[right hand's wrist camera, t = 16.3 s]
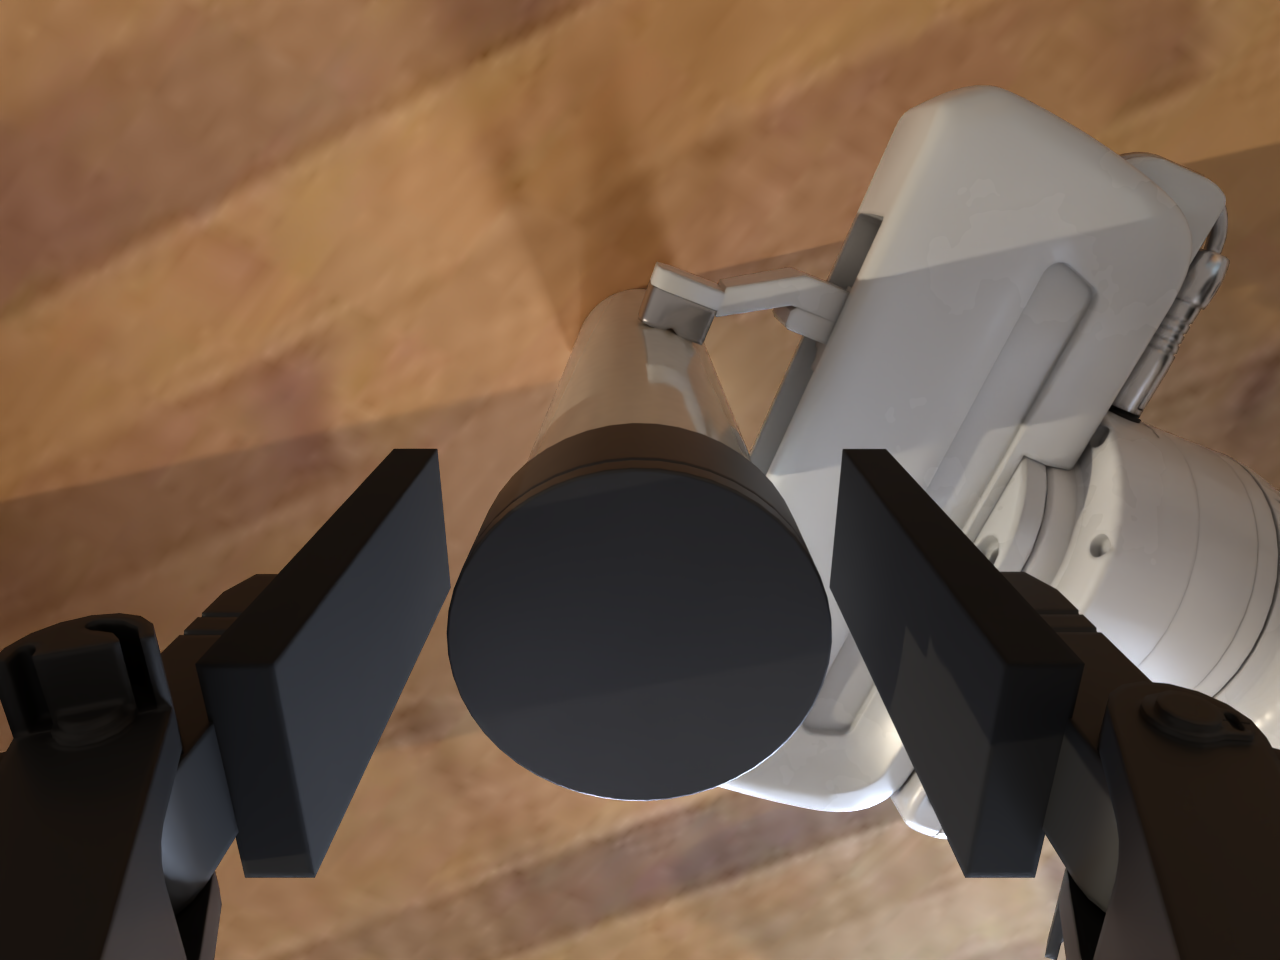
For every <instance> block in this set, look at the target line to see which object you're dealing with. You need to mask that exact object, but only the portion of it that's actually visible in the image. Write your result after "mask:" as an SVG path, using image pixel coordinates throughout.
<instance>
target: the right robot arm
mask: <svg viewBox="0 0 1280 960" xmlns="http://www.w3.org/2000/svg"><path fill="white" fill-rule="evenodd" d="M450 588H451V586H450V576H449V565H448V555H447V544H446V534H445V523H444V513H443V503H442V492H441V482H440V471H439V461H438V450H437V449H393V450H392V452H391V453H390V454H389V455H388V456H387V457H386V458H385V459H384V460H383V461H382V462H381V463H380V464H379V466H378V467H377V468H376V469H375V470H374V471H373V472H372V473H371V474H370V475H369V476H368V477H367V479H366V480H365V481H364V482H363V483H362V484H361V485H360V486H359V487H358V488H357V489H356V490H355V492H354V493H353V494H352V495H351V496H350V497H349V498H348V499H347V500H346V501H345V502H344V503H343V504H342V506H341V507H340V508H339V509H338V510H337V511H336V512H335V513H334V514H333V515H332V516H331V517H330V519H329V520H328V521H327V522H326V523H325V524H324V525H323V526H322V527H321V528H320V529H319V530H318V531H317V533H316V534H315V535H314V536H313V537H312V538H311V539H310V540H309V541H308V542H307V543H306V544H305V546H304V547H303V548H302V549H301V550H300V551H299V552H298V553H297V554H296V555H295V556H294V557H293V559H292V560H291V561H290V562H289V563H288V564H287V565H286V566H285V567H284V568H283V569H282V570H281V571H280V573H279V574H256V575H254V576H252V577H250V578H248V579H247V580H245V581H243V582H241V583H239V584H237V585H236V586H234V587H232V588H230V589H228V590H226V591H225V592H223V593H222V594H221V595H220V596H219V597H218V598H217V599H216V600H215V601H214V602H213V603H212V604H211V605H210V606H209V607H208V608H207V609H206V610H205V611H204V612H203V613H202V617H197V618H196V619H195V620H194V621H193V622H192V623H191V624H190V625H189V626H188V627H187V628H186V629H185V630H184V635H179V636H178V637H177V638H176V639H175V640H174V641H173V642H172V643H171V644H170V645H169V646H168V647H167V648H166V649H165V650H164V651H163V652H162V653H161V654H160V650H159V646H158V642H157V638H156V634H155V630H154V626H153V624H152V623H151V622H149V621H148V620H146V619H144V618H143V617H141V616H136V615H129V614H122V613H116V614H103V615H91V616H87V617H82V618H78V619H73V620H69V621H65V622H60V623H58V624H55V625H52V626H50V627H47V628H44V629H42V630H39V631H36V632H34V633H31V634H29V635H27V636H25V637H24V638H22V639H20V640H18V641H16V642H15V643H13V644H11V645H9V646H7V647H6V648H4V649H3V650H2V651H1V652H0V700H1V703H2V706H3V709H4V712H5V714H6V717H7V720H8V723H9V726H10V729H11V732H12V735H13V738H14V739H13V740H12V742H11V744H10V746H9V748H8V749H7V751H6V752H3V753H0V960H214V956H215V949H216V942H217V935H218V927H219V920H220V913H221V906H222V903H221V896H220V890H219V885H218V881H217V877H216V873H215V869H216V868H217V866H218V865H219V863H220V861H221V860H222V858H223V857H224V855H225V853H226V852H227V850H228V848H229V847H230V845H231V844H232V842H233V840H234V839H235V837H236V841H237V845H238V849H239V853H240V858H241V862H242V866H243V871H244V875H245V878H315V876H316V874H317V872H318V870H319V868H320V865H321V863H322V861H323V859H324V857H325V855H326V853H327V850H328V848H329V846H330V844H331V842H332V840H333V838H334V835H335V833H336V831H337V829H338V827H339V825H340V823H341V821H342V818H343V816H344V814H345V812H346V810H347V808H348V806H349V803H350V801H351V799H352V797H353V795H354V793H355V791H356V788H357V786H358V784H359V782H360V780H361V778H362V776H363V774H364V771H365V769H366V767H367V765H368V763H369V761H370V759H371V756H372V754H373V752H374V750H375V748H376V746H377V744H378V741H379V739H380V737H381V735H382V733H383V731H384V729H385V727H386V724H387V722H388V720H389V718H390V716H391V714H392V712H393V709H394V707H395V705H396V703H397V701H398V699H399V697H400V695H401V692H402V690H403V688H404V686H405V684H406V682H407V680H408V677H409V675H410V673H411V671H412V669H413V667H414V665H415V662H416V660H417V658H418V656H419V654H420V652H421V650H422V648H423V645H424V643H425V641H426V639H427V637H428V635H429V633H430V630H431V628H432V626H433V624H434V622H435V620H436V618H437V615H438V613H439V611H440V609H441V607H442V605H443V603H444V601H445V598H446V596H447V594H448V592H449V590H450ZM829 588H830V590H831V592H832V594H833V596H834V598H835V601H836V603H837V605H838V607H839V609H840V611H841V613H842V615H843V618H844V620H845V622H846V624H847V626H848V628H849V630H850V633H851V635H852V637H853V639H854V641H855V643H856V645H857V648H858V650H859V652H860V654H861V656H862V658H863V660H864V662H865V665H866V667H867V669H868V671H869V673H870V675H871V677H872V680H873V682H874V684H875V686H876V688H877V690H878V692H879V694H880V697H881V699H882V701H883V703H884V705H885V707H886V709H887V712H888V714H889V716H890V718H891V720H892V722H893V724H894V727H895V729H896V731H897V733H898V735H899V737H900V739H901V741H902V744H903V746H904V748H905V750H906V752H907V754H908V756H909V759H910V761H911V763H912V765H913V767H914V769H915V771H916V774H917V776H918V778H919V780H920V782H921V784H922V786H923V788H924V791H925V793H926V795H927V797H928V799H929V801H930V803H931V806H932V808H933V810H934V812H935V814H936V816H937V818H938V820H939V823H940V825H941V827H942V829H943V831H944V833H945V835H946V838H947V840H948V842H949V844H950V846H951V848H952V850H953V853H954V855H955V857H956V859H957V861H958V863H959V865H960V867H961V870H962V872H963V874H964V876H965V878H1035V875H1036V871H1037V866H1038V862H1039V858H1040V853H1041V849H1042V845H1043V841H1044V836H1045V835H1046V836H1047V838H1048V839H1049V841H1050V843H1051V844H1052V846H1053V847H1054V849H1055V851H1056V852H1057V854H1058V856H1059V857H1060V859H1061V860H1062V862H1063V864H1064V865H1065V867H1066V869H1065V873H1064V877H1063V881H1062V885H1061V889H1060V893H1059V897H1058V901H1057V905H1056V909H1055V913H1054V917H1053V921H1052V925H1051V929H1050V933H1049V937H1048V941H1047V948H1046V954H1045V957H1047V958H1051V959H1054V960H1057V957H1058V953H1059V950H1060V946H1061V943H1062V942H1064V947H1065V954H1066V960H1280V749H1276V748H1272V746H1271V744H1270V742H1269V741H1268V739H1267V737H1266V736H1265V735H1264V734H1263V733H1262V731H1261V730H1260V729H1259V728H1258V727H1257V726H1256V725H1255V723H1254V722H1253V721H1252V720H1251V719H1249V718H1248V717H1246V716H1245V715H1243V714H1242V713H1240V712H1239V711H1237V710H1236V709H1234V708H1233V707H1231V706H1230V705H1228V704H1226V703H1224V702H1222V701H1219V700H1217V699H1215V698H1213V697H1210V696H1208V695H1206V694H1203V693H1201V692H1199V691H1195V690H1191V689H1188V688H1184V687H1180V686H1176V685H1173V684H1168V683H1157V682H1152V681H1151V680H1150V679H1149V678H1148V677H1147V676H1146V675H1145V674H1144V673H1143V672H1142V671H1141V670H1140V669H1138V668H1137V667H1136V666H1135V665H1134V664H1133V663H1132V662H1131V661H1130V660H1129V659H1128V658H1127V657H1126V656H1125V655H1124V654H1123V653H1122V652H1121V651H1120V650H1119V649H1118V648H1117V647H1116V646H1115V645H1114V644H1113V643H1112V642H1111V641H1110V640H1109V639H1108V638H1107V637H1106V636H1105V635H1104V634H1103V633H1102V632H1097V630H1096V629H1097V628H1096V627H1095V626H1094V625H1093V624H1092V623H1091V622H1090V621H1089V620H1088V619H1087V618H1086V617H1085V616H1084V615H1083V614H1079V610H1078V609H1077V608H1076V607H1075V606H1074V605H1073V604H1072V603H1071V602H1070V601H1069V600H1068V599H1067V598H1066V597H1065V596H1064V595H1063V594H1061V593H1060V592H1059V591H1058V590H1057V589H1056V588H1054V587H1052V586H1050V585H1048V584H1046V583H1044V582H1043V581H1041V580H1039V579H1037V578H1035V577H1033V576H1031V575H1030V574H1028V573H1026V572H1000V571H999V570H998V569H997V568H996V567H995V566H994V565H993V564H992V563H991V562H990V561H989V560H988V558H987V557H986V556H985V555H984V554H983V553H982V552H981V551H980V550H979V549H978V548H977V547H976V546H975V544H974V543H973V542H972V541H971V540H970V539H969V538H968V537H967V536H966V535H965V534H964V533H963V531H962V530H961V529H960V528H959V527H958V526H957V525H956V524H955V523H954V522H953V521H952V520H951V519H950V517H949V516H948V515H947V514H946V513H945V512H944V511H943V510H942V509H941V508H940V507H939V506H938V504H937V503H936V502H935V501H934V500H933V499H932V498H931V497H930V496H929V495H928V494H927V493H926V491H925V490H924V489H923V488H922V487H921V486H920V485H919V484H918V483H917V482H916V481H915V480H914V479H913V477H912V476H911V475H910V474H909V473H908V472H907V471H906V470H905V469H904V468H903V467H902V466H901V464H900V463H899V462H898V461H897V460H896V459H895V458H894V457H893V456H892V455H891V454H890V453H889V452H888V450H887V449H843V450H842V461H841V471H840V482H839V492H838V503H837V513H836V523H835V534H834V544H833V555H832V565H831V576H830V586H829Z"/></svg>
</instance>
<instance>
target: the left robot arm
mask: <svg viewBox="0 0 1280 960" xmlns="http://www.w3.org/2000/svg"><path fill="white" fill-rule="evenodd" d="M1225 203H1226V198H1225V195H1224V193H1223V192H1222V190H1221V189H1220V188H1219V187H1218V186H1217V185H1216V184H1215V183H1214V182H1212V181H1211V180H1209V179H1208V178H1206V177H1205V176H1204V175H1202V174H1200V173H1198V172H1195V171H1193V170H1191V169H1189V168H1186V167H1184V166H1182V165H1179V164H1177V163H1175V162H1173V161H1170V160H1168V159H1166V158H1164V157H1161V156H1159V155H1156V154H1152V153H1147V152H1132V153H1125V154H1121V155H1118V154H1116V153H1115V152H1114V151H1112V150H1111V149H1109V148H1108V147H1106V146H1105V145H1103V144H1102V143H1100V142H1099V141H1097V140H1096V139H1094V138H1093V137H1091V136H1090V135H1088V134H1087V133H1085V132H1083V131H1082V130H1080V129H1078V128H1077V127H1075V126H1073V125H1072V124H1070V123H1068V122H1067V121H1065V120H1063V119H1062V118H1060V117H1058V116H1057V115H1055V114H1053V113H1051V112H1050V111H1048V110H1046V109H1044V108H1042V107H1040V106H1038V105H1036V104H1035V103H1033V102H1031V101H1029V100H1027V99H1025V98H1023V97H1021V96H1019V95H1017V94H1015V93H1012V92H1010V91H1008V90H1005V89H1003V88H1000V87H996V86H990V85H974V86H967V87H963V88H959V89H955V90H952V91H948V92H946V93H943V94H941V95H938V96H936V97H933V98H931V99H929V100H927V101H925V102H923V103H921V104H919V105H917V106H915V107H913V108H911V109H909V110H908V111H907V112H905V113H904V114H903V115H902V117H901V118H900V119H899V121H898V123H897V125H896V127H895V129H894V131H893V134H892V136H891V138H890V140H889V142H888V145H887V147H886V149H885V151H884V154H883V156H882V158H881V160H880V163H879V165H878V167H877V169H876V172H875V174H874V176H873V178H872V181H871V183H870V185H869V187H868V190H867V192H866V194H865V196H864V198H863V201H862V203H861V205H860V207H859V210H858V212H857V214H856V216H855V219H854V221H853V223H852V225H851V228H850V230H849V232H848V234H847V237H846V239H845V241H844V243H843V246H842V248H841V250H840V252H839V255H838V257H837V259H836V261H835V263H834V266H833V268H832V270H831V272H830V275H829V277H828V279H827V281H825V280H823V279H820V278H817V277H815V276H812V275H810V274H807V273H804V272H802V271H799V270H797V269H794V268H792V267H787V268H781V269H776V270H770V271H764V272H759V273H753V274H747V275H742V276H736V277H730V278H725V279H720V280H719V282H718V284H717V283H715V282H712V281H710V280H707V279H705V278H702V277H699V276H697V275H694V274H692V273H689V272H686V271H684V270H681V269H679V268H676V267H673V266H671V265H668V264H664V263H660V262H656V265H655V267H654V270H653V273H652V276H651V279H650V281H649V284H648V286H647V289H646V292H645V295H644V298H643V301H642V304H641V307H640V310H639V313H638V320H640V321H641V322H643V323H645V324H647V325H649V326H651V327H654V328H657V329H661V330H666V329H670V328H673V330H674V331H675V333H676V334H677V335H678V336H680V337H681V338H683V339H685V340H688V341H691V342H694V343H696V344H699V345H702V344H703V342H704V339H705V337H706V335H707V332H708V330H709V328H710V325H711V323H712V321H713V318H714V316H716V317H720V316H726V315H733V314H739V313H746V312H752V311H759V310H765V309H772V308H774V309H773V314H774V317H776V318H777V319H778V320H779V321H780V322H781V323H782V324H783V325H784V326H785V327H786V328H787V329H788V330H790V331H793V332H795V333H798V334H800V335H802V337H801V340H800V342H799V344H798V346H797V349H796V351H795V353H794V355H793V358H792V360H791V362H790V364H789V367H788V369H787V371H786V373H785V376H784V378H783V380H782V382H781V384H780V387H779V389H778V391H777V393H776V396H775V398H774V400H773V402H772V405H771V407H770V409H769V411H768V414H767V416H766V418H765V420H764V423H763V425H762V427H761V429H760V432H759V434H758V436H757V438H756V441H755V443H754V445H753V447H752V449H751V452H750V454H749V456H750V458H751V461H752V463H753V464H754V465H755V466H757V467H758V468H759V469H760V470H761V471H762V472H763V474H764V475H765V476H766V477H767V478H768V479H769V480H770V481H771V482H772V483H773V485H774V486H775V487H776V489H777V490H778V492H779V493H780V494H781V496H782V497H783V499H784V500H785V502H786V504H787V506H788V508H789V510H790V512H791V514H792V516H793V518H794V520H795V522H796V524H797V526H798V528H799V531H800V533H801V535H802V537H803V539H804V542H805V544H806V546H807V548H808V550H809V552H810V555H811V557H812V559H813V561H814V564H815V566H816V568H817V570H818V572H819V574H820V576H821V579H822V582H823V585H824V588H825V591H826V594H827V597H828V602H829V608H830V613H831V619H832V646H831V654H830V661H829V666H828V669H827V673H826V676H825V680H824V683H823V686H822V688H821V690H820V693H819V695H818V697H817V699H816V702H815V704H814V706H813V707H812V709H811V710H810V712H809V714H808V715H807V717H806V718H805V720H804V722H803V723H802V724H801V726H800V727H799V728H798V729H797V730H796V732H795V733H794V734H793V735H792V736H791V738H790V739H789V740H788V741H787V742H786V743H785V744H784V745H783V746H782V747H780V748H779V749H778V750H777V751H776V752H775V753H774V754H773V755H772V756H770V757H769V758H768V759H766V760H765V761H764V762H762V763H761V764H759V765H758V766H757V767H755V768H754V769H752V770H750V771H749V772H747V773H745V774H743V775H741V776H740V777H738V778H736V779H734V780H732V781H729V782H727V783H725V784H722V785H720V786H719V787H722V788H725V789H728V790H732V791H736V792H740V793H743V794H747V795H751V796H754V797H758V798H763V799H767V800H771V801H775V802H779V803H784V804H788V805H793V806H798V807H802V808H808V809H814V810H820V811H831V812H850V811H856V810H861V809H865V808H869V807H871V806H874V805H876V804H878V803H880V802H882V801H884V800H886V799H887V798H888V797H891V799H892V801H893V802H894V804H895V806H896V808H897V809H898V811H899V813H900V815H901V817H902V818H903V820H904V821H905V823H906V824H907V825H908V826H909V827H910V828H912V829H914V830H915V831H918V832H920V833H922V834H925V835H928V836H932V837H936V838H941V839H947V838H946V835H945V833H944V831H943V829H942V827H941V825H940V823H939V820H938V818H937V816H936V814H935V812H934V810H933V808H932V806H931V803H930V801H929V799H928V797H927V795H926V793H925V791H924V788H923V786H922V784H921V782H920V780H919V778H918V776H917V774H916V771H915V769H914V767H913V765H912V763H911V761H910V759H909V756H908V754H907V752H906V750H905V748H904V746H903V744H902V741H901V739H900V737H899V735H898V733H897V731H896V729H895V727H894V724H893V722H892V720H891V718H890V716H889V714H888V712H887V709H886V707H885V705H884V703H883V701H882V699H881V697H880V694H879V692H878V690H877V688H876V686H875V684H874V682H873V680H872V677H871V675H870V673H869V671H868V669H867V667H866V665H865V662H864V660H863V658H862V656H861V654H860V652H859V650H858V648H857V645H856V643H855V641H854V639H853V637H852V635H851V633H850V630H849V628H848V626H847V624H846V622H845V620H844V618H843V615H842V613H841V611H840V609H839V607H838V605H837V603H836V601H835V598H834V596H833V594H832V592H831V590H830V588H829V586H830V576H831V565H832V555H833V544H834V534H835V523H836V513H837V503H838V492H839V482H840V471H841V461H842V450H843V449H887V450H888V452H889V453H890V454H891V455H892V456H893V457H894V458H895V459H896V460H897V461H898V462H899V463H900V464H901V466H902V467H903V468H904V469H905V470H906V471H907V472H908V473H909V474H910V475H911V476H912V477H913V479H914V480H915V481H916V482H917V483H918V484H919V485H920V486H921V487H922V488H923V489H924V490H925V491H926V493H927V494H928V495H929V496H930V497H931V498H932V499H933V500H934V501H935V502H936V503H937V504H938V506H939V507H940V508H941V509H942V510H943V511H944V512H945V513H946V514H947V515H948V516H949V517H950V519H951V520H952V521H953V522H954V523H955V524H956V525H957V526H958V527H959V528H960V529H961V530H962V531H963V533H964V534H965V535H966V536H967V537H968V538H969V539H970V540H971V541H972V542H973V543H974V544H975V546H976V547H977V548H978V549H979V550H980V551H981V552H982V553H983V554H984V555H985V556H986V557H987V558H988V560H989V561H990V562H991V563H992V564H993V565H994V566H995V567H996V568H997V569H998V570H999V571H1000V572H1026V573H1028V574H1030V575H1031V576H1033V577H1035V578H1037V579H1039V580H1041V581H1043V582H1044V583H1046V584H1048V585H1050V586H1052V587H1054V588H1056V589H1057V590H1058V591H1059V592H1060V593H1061V594H1063V595H1064V596H1065V597H1066V598H1067V599H1068V600H1069V601H1070V602H1071V603H1072V604H1073V605H1074V606H1075V607H1076V608H1077V609H1078V610H1079V614H1083V615H1084V616H1085V617H1086V618H1087V619H1088V620H1089V621H1090V622H1091V623H1092V624H1093V625H1094V626H1095V627H1096V628H1097V629H1096V630H1097V632H1102V633H1103V634H1104V635H1105V636H1106V637H1107V638H1108V639H1109V640H1110V641H1111V642H1112V643H1113V644H1114V645H1115V646H1116V647H1117V648H1118V649H1119V650H1120V651H1121V652H1122V653H1123V654H1124V655H1125V656H1126V657H1127V658H1128V659H1129V660H1130V661H1131V662H1132V663H1133V664H1134V665H1135V666H1136V667H1137V668H1138V669H1140V670H1141V671H1142V672H1143V673H1144V674H1145V675H1146V676H1147V677H1148V678H1149V679H1150V680H1151V681H1152V682H1157V683H1168V684H1173V685H1176V686H1180V687H1184V688H1188V689H1191V690H1195V691H1199V692H1201V693H1203V694H1206V695H1208V696H1210V697H1213V698H1215V699H1217V700H1219V701H1222V702H1224V703H1226V704H1228V705H1230V706H1231V707H1233V708H1234V709H1236V710H1237V711H1239V712H1240V713H1242V714H1243V715H1245V716H1246V717H1248V718H1249V719H1251V720H1252V721H1253V722H1254V723H1255V725H1256V726H1257V727H1258V728H1259V729H1260V730H1261V731H1262V733H1263V734H1264V735H1265V736H1266V737H1267V739H1268V741H1269V742H1270V744H1271V746H1272V748H1276V749H1280V491H1277V490H1276V489H1275V488H1274V487H1273V486H1272V485H1271V484H1270V483H1268V482H1267V481H1266V480H1265V479H1263V478H1262V477H1261V476H1260V475H1258V474H1257V473H1256V472H1255V471H1253V470H1252V469H1251V468H1249V467H1248V466H1246V465H1244V464H1242V463H1240V462H1238V461H1237V460H1235V459H1233V458H1231V457H1229V456H1227V455H1225V454H1222V453H1219V452H1217V451H1214V450H1212V449H1209V448H1207V447H1204V446H1202V445H1199V444H1197V443H1194V442H1191V441H1189V440H1186V439H1184V438H1181V437H1179V436H1176V435H1174V434H1171V433H1169V432H1166V431H1163V430H1161V429H1158V428H1156V427H1153V426H1150V425H1148V424H1146V423H1143V422H1141V420H1140V419H1138V418H1139V417H1140V415H1141V414H1142V412H1143V410H1144V409H1145V407H1146V406H1147V404H1148V402H1149V401H1150V399H1151V398H1152V396H1153V394H1154V393H1155V391H1156V389H1157V388H1158V386H1159V385H1160V383H1161V381H1162V380H1163V378H1164V377H1165V375H1166V373H1167V372H1168V370H1169V368H1170V366H1171V364H1172V362H1173V361H1174V359H1175V356H1174V355H1175V354H1177V352H1178V350H1179V344H1181V343H1182V341H1183V339H1184V336H1183V335H1184V334H1187V332H1188V330H1189V328H1190V326H1189V325H1190V324H1192V323H1193V322H1194V320H1195V319H1196V317H1197V316H1198V314H1199V312H1200V311H1201V309H1202V310H1204V309H1205V308H1206V307H1207V306H1208V304H1209V303H1210V302H1211V301H1212V299H1213V298H1214V296H1215V295H1216V293H1217V291H1218V289H1219V288H1220V286H1221V284H1222V282H1223V280H1224V277H1225V275H1226V272H1227V270H1228V267H1229V264H1230V260H1229V259H1228V258H1227V257H1225V256H1223V255H1220V254H1221V252H1222V249H1223V246H1224V243H1225V240H1226V236H1227V229H1228V213H1227V208H1226V205H1225ZM1206 237H1207V239H1206ZM1205 239H1206V243H1205V246H1204V249H1200V247H1201V246H1202V244H1203V242H1204V241H1205Z"/></svg>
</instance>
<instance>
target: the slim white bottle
mask: <svg viewBox="0 0 1280 960" xmlns="http://www.w3.org/2000/svg"><path fill="white" fill-rule="evenodd" d="M645 292H646V289H631V290H625V291H622V292H618V293H616V294H614V295H611V296H609V297H608V298H606V299H605V300H603V301H602V302H600V303H599V304H598V305H597V306H596V307H595V308H594V309H593V310H592V311H591V312H590V314H589V315H588V316H587V318H586V319H585V321H584V323H583V325H582V327H581V330H580V332H579V335H578V337H577V340H576V342H575V345H574V347H573V349H572V352H571V354H570V357H569V359H568V362H567V364H566V367H565V369H564V372H563V374H562V377H561V379H560V382H559V384H558V387H557V389H556V392H555V394H554V396H553V399H552V401H551V404H550V406H549V409H548V411H547V414H546V416H545V419H544V421H543V424H542V426H541V429H540V431H539V434H538V436H537V439H536V441H535V443H534V446H533V448H532V451H531V453H530V456H529V458H528V461H530V460H531V459H532V458H534V457H535V456H537V455H538V454H539V453H541V452H542V451H544V450H545V449H547V448H549V447H550V446H552V445H554V444H556V443H558V442H560V441H562V440H564V439H566V438H568V437H571V436H574V435H576V434H579V433H582V432H584V431H587V430H591V429H596V428H600V427H604V426H609V425H617V424H627V423H653V424H662V425H669V426H675V427H680V428H684V429H687V430H691V431H694V432H698V433H701V434H703V435H706V436H708V437H710V438H713V439H715V440H717V441H720V442H722V443H723V444H725V445H727V446H728V447H730V448H732V449H733V450H735V451H737V452H738V453H740V454H742V455H743V456H744V457H745V458H747V459H748V460H749V461H750V462H752V461H751V458H750V456H749V453H748V451H747V448H746V446H745V443H744V441H743V438H742V436H741V433H740V431H739V428H738V426H737V423H736V421H735V418H734V416H733V413H732V411H731V408H730V406H729V403H728V401H727V398H726V396H725V393H724V391H723V388H722V386H721V384H720V381H719V379H718V376H717V374H716V371H715V369H714V366H713V364H712V361H711V359H710V356H709V354H708V351H707V349H706V346H705V344H704V342H703V344H702V345H699V344H696V343H694V342H691V341H688V340H685V339H683V338H681V337H680V336H678V335H677V334H676V333H675V331H674V330H673V328H670V329H666V330H661V329H657V328H654V327H651V326H649V325H647V324H645V323H643V322H641V321H640V320H638V313H639V310H640V307H641V304H642V301H643V298H644V295H645ZM528 461H527V462H528Z"/></svg>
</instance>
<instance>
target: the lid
mask: <svg viewBox="0 0 1280 960" xmlns="http://www.w3.org/2000/svg"><path fill="white" fill-rule="evenodd" d="M447 644H448V656H449V660H450V665H451V669H452V674H453V677H454V680H455V682H456V685H457V688H458V690H459V693H460V696H461V698H462V700H463V701H464V703H465V705H466V707H467V709H468V710H469V712H470V714H471V716H472V717H473V719H474V720H475V721H476V723H477V724H478V725H479V727H480V728H481V729H482V731H483V732H484V733H485V734H486V735H487V736H488V737H489V738H490V740H491V741H492V742H493V743H494V744H495V745H496V746H497V747H498V748H499V749H500V750H502V751H503V752H504V753H505V754H506V755H508V756H509V757H510V758H511V759H513V760H514V761H515V762H516V763H518V764H519V765H521V766H523V767H524V768H526V769H527V770H529V771H531V772H532V773H534V774H535V775H537V776H539V777H541V778H543V779H546V780H548V781H550V782H552V783H554V784H556V785H559V786H561V787H564V788H567V789H570V790H573V791H576V792H579V793H583V794H587V795H592V796H596V797H600V798H608V799H616V800H627V801H651V800H663V799H672V798H677V797H683V796H688V795H693V794H696V793H699V792H703V791H706V790H709V789H713V788H715V787H718V786H720V785H722V784H725V783H727V782H729V781H732V780H734V779H736V778H738V777H740V776H741V775H743V774H745V773H747V772H749V771H750V770H752V769H754V768H755V767H757V766H758V765H759V764H761V763H762V762H764V761H765V760H766V759H768V758H769V757H770V756H772V755H773V754H774V753H775V752H776V751H777V750H778V749H779V748H780V747H782V746H783V745H784V744H785V743H786V742H787V741H788V740H789V739H790V738H791V736H792V735H793V734H794V733H795V732H796V730H797V729H798V728H799V727H800V726H801V724H802V723H803V722H804V720H805V718H806V717H807V715H808V714H809V712H810V710H811V709H812V707H813V706H814V704H815V702H816V699H817V697H818V695H819V693H820V690H821V688H822V686H823V683H824V680H825V676H826V673H827V669H828V666H829V661H830V654H831V646H832V619H831V613H830V608H829V602H828V597H827V594H826V591H825V588H824V585H823V582H822V579H821V576H820V574H819V572H818V570H817V568H816V566H815V564H814V561H813V559H812V557H811V555H810V552H809V550H808V548H807V546H806V544H805V542H804V539H803V537H802V535H801V533H800V531H799V528H798V526H797V524H796V522H795V520H794V518H793V516H792V514H791V512H790V510H789V508H788V506H787V504H786V502H785V500H784V499H783V497H782V496H781V494H780V493H779V492H778V490H777V489H776V487H775V486H774V485H773V483H772V482H771V481H770V480H769V479H768V478H767V477H766V476H765V475H764V474H763V472H762V471H761V470H760V469H759V468H758V467H757V466H755V465H754V464H753V463H752V462H750V461H749V460H748V459H747V458H745V457H744V456H743V455H742V454H740V453H738V452H737V451H735V450H733V449H732V448H730V447H728V446H727V445H725V444H723V443H722V442H720V441H717V440H715V439H713V438H710V437H708V436H706V435H703V434H701V433H698V432H694V431H691V430H687V429H684V428H680V427H675V426H669V425H662V424H653V423H627V424H617V425H609V426H604V427H600V428H596V429H591V430H587V431H584V432H582V433H579V434H576V435H574V436H571V437H568V438H566V439H564V440H562V441H560V442H558V443H556V444H554V445H552V446H550V447H549V448H547V449H545V450H544V451H542V452H541V453H539V454H538V455H537V456H535V457H534V458H532V459H531V460H530V461H528V462H527V463H526V464H525V465H524V466H523V467H522V468H521V469H520V470H519V471H518V472H517V473H515V474H514V475H513V476H512V478H511V479H510V480H509V481H508V483H507V484H506V485H505V486H504V487H503V489H502V490H501V491H500V492H499V494H498V496H497V498H496V499H495V501H494V503H493V504H492V506H491V508H490V509H489V511H488V513H487V516H486V518H485V520H484V522H483V524H482V526H481V529H480V531H479V533H478V535H477V537H476V540H475V542H474V544H473V546H472V548H471V550H470V553H469V555H468V557H467V559H466V561H465V563H464V566H463V568H462V570H461V573H460V575H459V577H458V580H457V582H456V585H455V587H454V590H453V594H452V599H451V603H450V607H449V611H448V623H447Z"/></svg>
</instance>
